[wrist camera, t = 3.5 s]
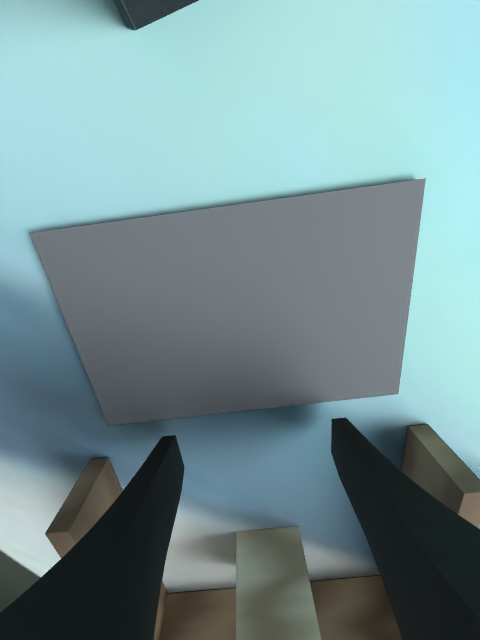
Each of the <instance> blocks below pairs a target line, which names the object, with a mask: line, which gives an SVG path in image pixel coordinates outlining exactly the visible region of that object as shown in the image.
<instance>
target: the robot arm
mask: <svg viewBox="0 0 480 640" xmlns="http://www.w3.org/2000/svg"><path fill="white" fill-rule="evenodd" d="M331 453H332V456H333V459H334V462H335V465H336V468H337V471H338V474H339V477H340V479H341V482H342V484H343V486H344V488H345V491H346V493H347V495H348V497H349V500H350V502H351V504H352V506H353V509H354V511H355V513H356V515H357V518H358V520H359V522H360V524H361V527H362V529H363V531H364V533H365V536H366V538H367V541H368V543H369V545H370V548H371V551H372V553H373V556H374V559H375V562H376V565H377V567H378V570H379V573H380V576H381V578H382V581H383V584H384V587H385V590H386V593H387V596H388V599H389V602H390V605H391V607H392V610H393V613H394V616H395V619H396V622H397V625H398V628H399V631H400V634H401V637H402V640H480V524H479V526H478V528H477V527H476V526H475V525H473V524H472V523H470V522H469V521H467V520H466V519H464V518H463V517H461V516H460V515H458V514H457V513H455V512H454V511H452V510H451V509H449V508H448V507H447V506H445V505H444V504H443V503H441V502H440V501H438V500H437V499H436V498H434V497H433V496H432V495H431V494H429V493H428V492H427V491H425V490H424V489H423V488H421V487H420V486H419V485H418V484H416V483H415V482H414V481H413V480H412V479H410V478H409V477H408V476H407V475H406V474H404V473H403V472H402V471H401V470H400V469H399V468H397V467H396V466H395V465H394V464H393V463H392V462H391V461H390V460H388V459H387V458H386V457H385V456H384V455H383V454H382V453H381V452H380V451H379V450H378V449H377V448H376V447H374V446H373V445H372V444H371V443H370V442H369V441H368V440H367V439H366V438H365V437H364V436H363V435H362V434H361V433H360V432H359V431H358V430H357V429H356V428H355V427H354V426H353V424H352V423H351V422H350V421H349V420H348V419H346V418H337V419H332V441H331ZM183 474H184V464H183V460H182V457H181V453H180V450H179V446H178V443H177V439H176V436H175V435H173V436H164V437H162V438H161V439H160V440H159V442H158V443H157V445H156V446H155V448H154V449H153V451H152V452H151V453H150V455H149V456H148V458H147V459H146V461H145V462H144V463H143V465H142V466H141V468H140V469H139V470H138V472H137V473H136V474H135V476H134V477H133V478H132V480H131V481H130V482H129V484H128V485H127V486H126V488H125V489H124V490H123V491H122V493H121V494H120V495H119V496H118V498H117V499H116V500H115V501H114V503H113V504H112V505H111V506H110V507H109V509H108V510H107V511H106V512H105V513H104V514H103V516H102V517H101V518H100V519H99V520H98V521H97V522H96V523H95V524H94V526H93V527H92V528H91V529H90V530H89V531H88V532H87V533H86V534H85V535H84V536H83V537H82V538H81V539H80V540H79V541H78V542H77V543H76V544H75V545H74V546H73V547H72V548H71V550H70V551H69V552H68V553H67V554H66V555H65V556H64V557H63V558H62V559H61V560H59V561H58V562H57V563H56V564H55V565H54V566H53V567H52V568H51V569H50V570H49V571H48V572H47V573H46V574H44V575H43V576H42V577H41V578H40V579H39V580H38V581H37V582H36V583H35V584H34V585H32V586H31V587H30V588H29V589H28V590H27V591H26V592H24V593H23V594H22V595H21V596H20V597H19V598H18V599H16V600H15V601H14V602H13V603H11V604H10V605H9V606H8V607H7V608H5V609H4V610H3V611H2V612H1V613H0V640H154V632H155V625H156V618H157V611H158V604H159V597H160V590H161V584H162V578H163V571H164V565H165V560H166V555H167V550H168V546H169V542H170V538H171V534H172V529H173V525H174V521H175V517H176V512H177V508H178V504H179V500H180V495H181V490H182V483H183Z"/></svg>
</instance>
